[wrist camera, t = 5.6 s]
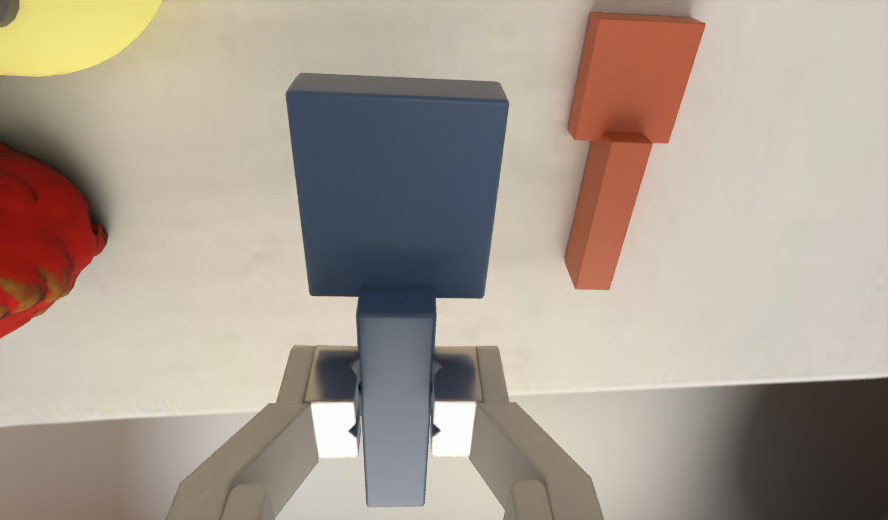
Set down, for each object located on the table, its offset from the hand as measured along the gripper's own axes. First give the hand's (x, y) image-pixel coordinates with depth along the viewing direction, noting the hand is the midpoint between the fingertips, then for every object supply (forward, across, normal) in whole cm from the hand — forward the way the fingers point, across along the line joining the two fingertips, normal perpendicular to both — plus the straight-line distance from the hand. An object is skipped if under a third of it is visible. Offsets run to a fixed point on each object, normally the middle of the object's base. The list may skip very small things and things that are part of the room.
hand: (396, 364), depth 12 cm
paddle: (+2, 0, 0) cm, 2 cm away
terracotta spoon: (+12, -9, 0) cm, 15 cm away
